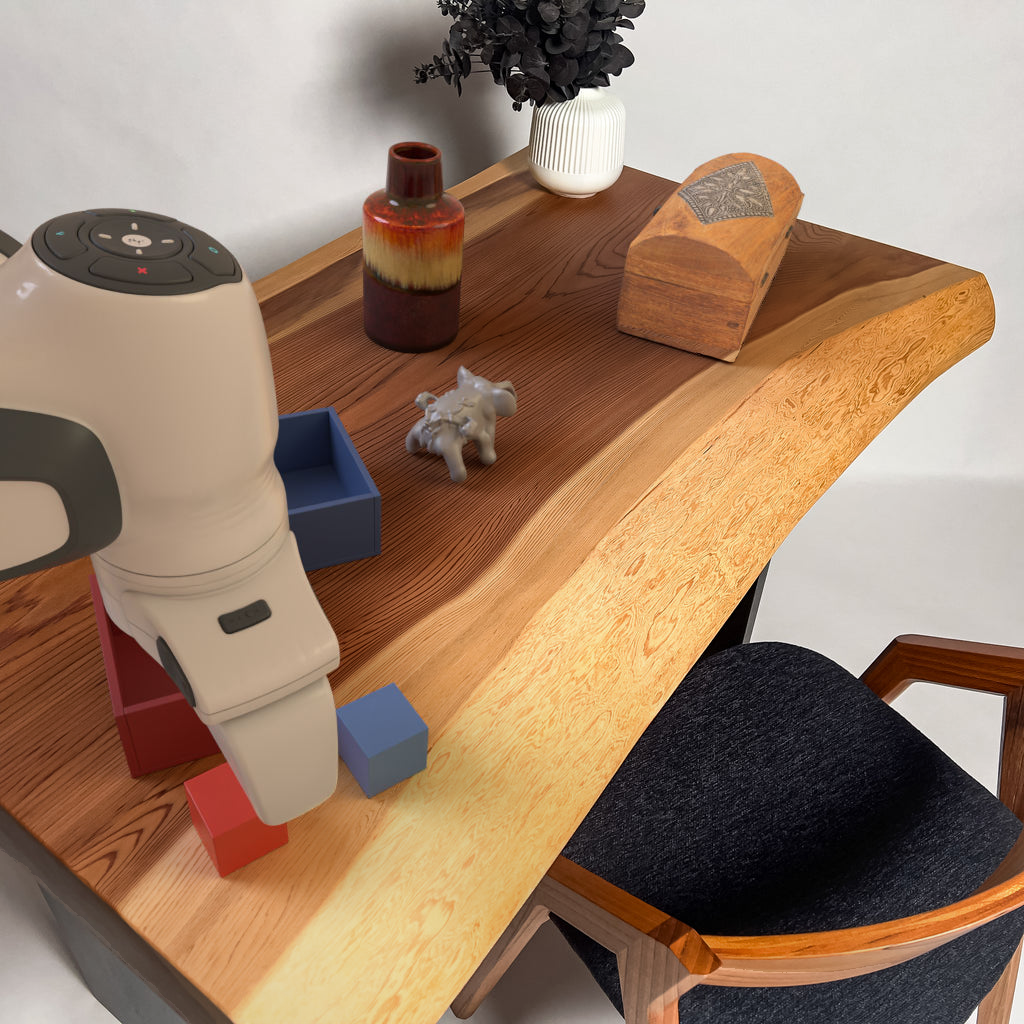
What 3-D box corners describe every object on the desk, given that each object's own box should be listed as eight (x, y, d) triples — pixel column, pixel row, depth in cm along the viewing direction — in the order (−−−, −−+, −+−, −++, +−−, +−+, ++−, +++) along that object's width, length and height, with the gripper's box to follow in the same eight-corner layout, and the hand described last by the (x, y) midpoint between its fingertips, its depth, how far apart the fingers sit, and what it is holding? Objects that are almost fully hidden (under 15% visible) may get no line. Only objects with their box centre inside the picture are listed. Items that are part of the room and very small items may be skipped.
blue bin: (222, 591, 76) (213, 530, 72) (190, 491, 85) (180, 432, 81) (381, 554, 81) (381, 495, 77) (335, 463, 90) (333, 405, 86)
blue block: (368, 799, 63) (368, 758, 60) (336, 750, 66) (334, 709, 63) (426, 768, 66) (429, 727, 63) (393, 722, 68) (393, 681, 65)
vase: (464, 311, 114) (475, 138, 101) (451, 358, 106) (461, 177, 93) (374, 300, 114) (373, 126, 101) (354, 346, 106) (350, 163, 93)
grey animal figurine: (391, 466, 90) (392, 397, 85) (449, 404, 99) (453, 339, 94) (480, 498, 88) (486, 429, 83) (531, 432, 97) (540, 367, 92)
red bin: (132, 779, 63) (114, 717, 59) (105, 637, 72) (88, 574, 68) (328, 720, 68) (325, 659, 64) (280, 594, 77) (275, 533, 72)
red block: (220, 878, 58) (212, 839, 55) (192, 822, 61) (182, 782, 58) (289, 842, 60) (284, 802, 58) (258, 789, 63) (253, 748, 60)
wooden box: (671, 237, 136) (692, 138, 127) (786, 267, 131) (816, 167, 122) (599, 328, 114) (618, 216, 105) (734, 367, 110) (766, 254, 101)
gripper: (59, 458, 50) (111, 637, 59) (217, 734, 38) (252, 906, 47) (178, 423, 53) (210, 598, 62) (359, 668, 41) (366, 841, 50)
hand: (229, 733), depth 54 cm, fingers open, 8 cm apart
